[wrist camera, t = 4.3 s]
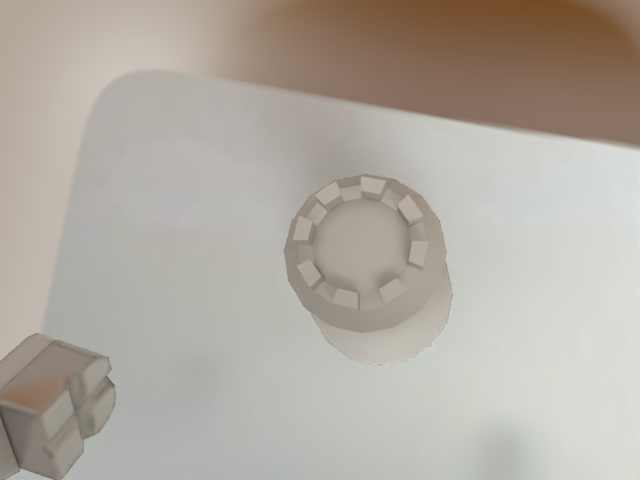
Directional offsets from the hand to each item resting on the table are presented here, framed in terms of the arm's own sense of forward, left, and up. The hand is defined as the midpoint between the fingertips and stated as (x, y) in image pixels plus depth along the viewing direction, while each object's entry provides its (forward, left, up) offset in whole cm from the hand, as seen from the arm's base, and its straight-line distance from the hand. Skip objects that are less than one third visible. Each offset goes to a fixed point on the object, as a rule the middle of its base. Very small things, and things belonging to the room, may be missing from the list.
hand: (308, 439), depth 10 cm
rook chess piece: (0, +4, -8) cm, 9 cm away
